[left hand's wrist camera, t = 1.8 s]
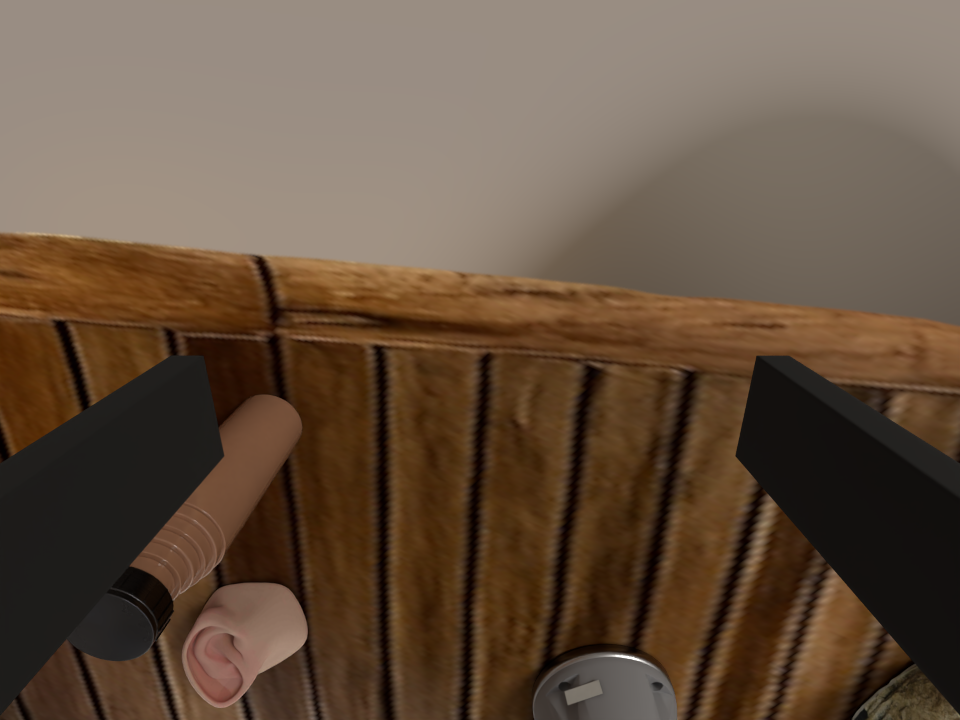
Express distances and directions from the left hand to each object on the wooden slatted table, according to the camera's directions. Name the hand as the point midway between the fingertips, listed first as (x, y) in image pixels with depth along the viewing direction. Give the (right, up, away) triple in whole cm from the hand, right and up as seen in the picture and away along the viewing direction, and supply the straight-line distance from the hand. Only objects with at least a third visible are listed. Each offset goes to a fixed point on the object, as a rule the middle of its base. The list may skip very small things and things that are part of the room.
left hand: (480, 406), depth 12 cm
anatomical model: (-24, -26, +40) cm, 54 cm away
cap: (-18, -12, +13) cm, 25 cm away
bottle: (-18, -4, +32) cm, 37 cm away
